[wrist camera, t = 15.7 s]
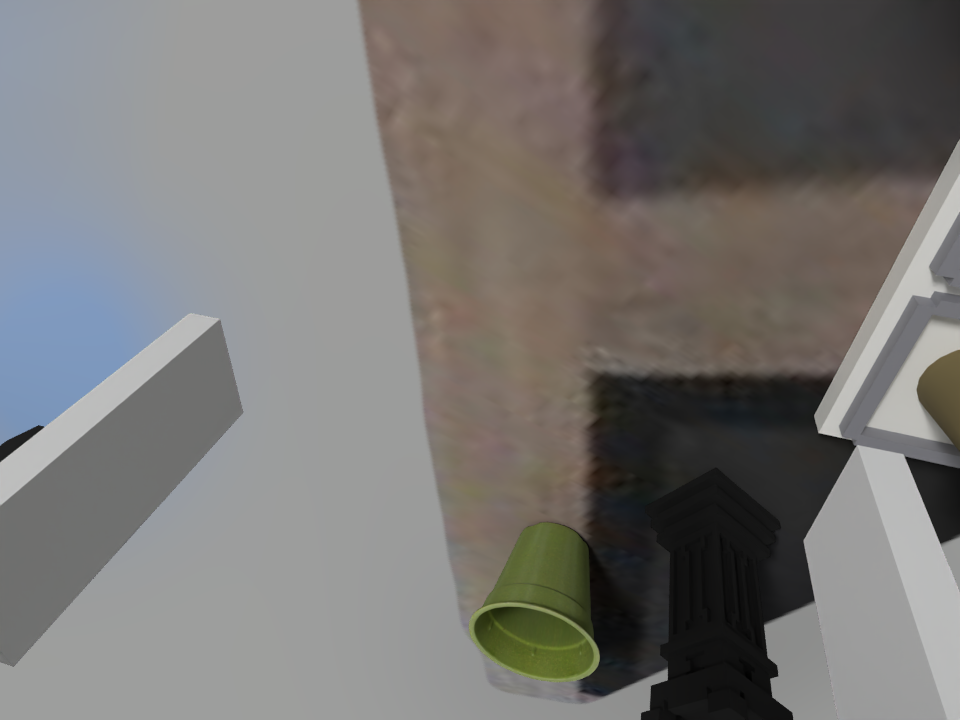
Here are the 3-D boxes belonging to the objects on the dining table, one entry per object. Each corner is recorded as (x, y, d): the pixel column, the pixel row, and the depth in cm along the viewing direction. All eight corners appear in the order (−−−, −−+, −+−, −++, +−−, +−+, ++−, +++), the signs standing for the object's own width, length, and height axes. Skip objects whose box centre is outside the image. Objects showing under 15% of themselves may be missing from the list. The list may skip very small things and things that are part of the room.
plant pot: (483, 505, 63) (450, 601, 54) (597, 503, 58) (582, 606, 49) (515, 580, 68) (490, 677, 60) (621, 583, 64) (611, 689, 55)
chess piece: (779, 521, 54) (819, 769, 38) (705, 554, 58) (714, 787, 42) (715, 467, 52) (731, 702, 36) (645, 506, 57) (631, 729, 41)
